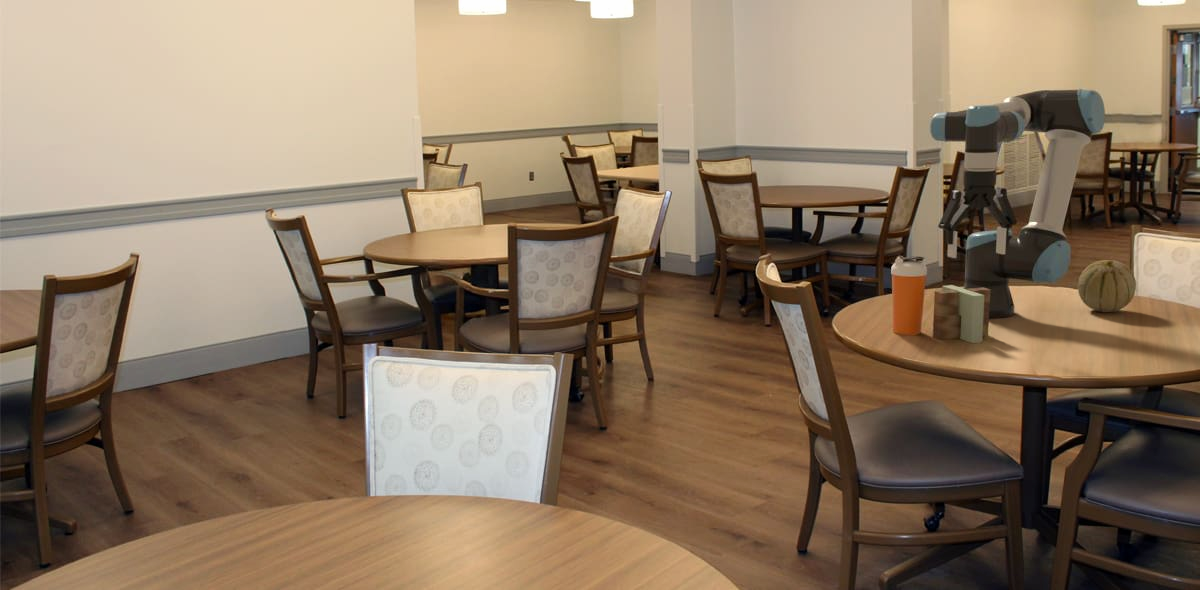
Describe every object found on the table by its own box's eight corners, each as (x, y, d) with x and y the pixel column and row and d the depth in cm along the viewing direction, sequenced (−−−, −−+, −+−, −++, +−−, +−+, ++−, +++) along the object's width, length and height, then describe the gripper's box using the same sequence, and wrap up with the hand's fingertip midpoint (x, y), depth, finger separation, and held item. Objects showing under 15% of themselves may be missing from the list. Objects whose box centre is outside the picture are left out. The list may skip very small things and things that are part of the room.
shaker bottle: (926, 336, 260) (929, 259, 256) (890, 335, 262) (893, 259, 258) (922, 328, 269) (925, 254, 265) (887, 327, 271) (890, 254, 267)
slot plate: (940, 330, 266) (942, 285, 263) (950, 329, 267) (952, 285, 264) (971, 343, 253) (973, 296, 250) (982, 342, 253) (984, 295, 251)
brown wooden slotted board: (981, 332, 263) (983, 287, 260) (987, 335, 260) (990, 289, 257) (932, 336, 259) (934, 291, 257) (939, 339, 257) (941, 293, 254)
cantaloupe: (1116, 305, 290) (1120, 253, 287) (1145, 316, 276) (1149, 262, 273) (1065, 306, 290) (1069, 255, 287) (1091, 318, 275) (1095, 264, 272)
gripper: (1015, 166, 253) (1011, 249, 257) (925, 170, 247) (923, 256, 251) (1034, 168, 245) (1030, 254, 250) (943, 173, 240) (939, 261, 244)
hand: (976, 255), depth 251 cm, fingers open, 13 cm apart
